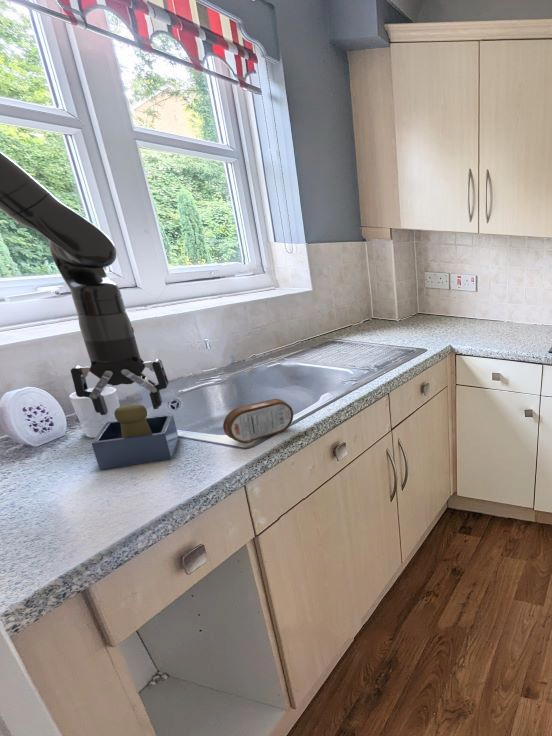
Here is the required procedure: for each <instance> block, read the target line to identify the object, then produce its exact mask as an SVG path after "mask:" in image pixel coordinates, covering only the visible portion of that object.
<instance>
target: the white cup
mask: <svg viewBox="0 0 552 736" xmlns="http://www.w3.org/2000/svg"><path fill="white" fill-rule="evenodd" d="M94 388H95V387H90V388H89V387H88V389H91V390H93V389H94ZM101 395H103V397H104V400H105V403H106V406H107V410H108V413H107V414H106V415H100V413H97V412H96V411H95V408H94V405H93V402H92V400H91V398H89V397H78V396H77V395H76V391H75V392H72V393H70V394H69V396H68V397H69V399H70V401H71V404H72V407H73V409H74V412H75V414H76V416H77V418H78V421H79V423H80V426H82V429H83V431H84V434H85V436H86V437H87V438H90V439H91V438H92V439H93V438H94V439H95V438H96V436H97V435H98V433H99V432H100V431H101V429H102V428H103V426H104V425H105V424H106V422H112V421H117V420H116V418H115V415H114V413H115V410H116V409H117V408H118V407H120V406H121V405H120V404H121V403H120V399H119V395H118V391H117V388H115V387H113V386H112V387H111V386H106V387H105V388H104V389H103V391H102V392H101Z"/></svg>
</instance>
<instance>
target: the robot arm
mask: <svg viewBox="0 0 552 736" xmlns="http://www.w3.org/2000/svg"><path fill="white" fill-rule="evenodd" d="M0 211H2V212H3V213H4V214H5V215H7V216H8V217H10V218H11V219H13V221H15V222H17V223H18V224H20V225H22V226H24V227H26V228H29V229H32V230H34V231H36V232H38V233H39V234H41V235H42V236H44V237H45V238H46V239H47V240H48V247H49V252H50V256H51V258H52V260H53V262H54V264H55V266H56V268H57V270H58V272H59V273H60V275H61V277H62V279H63V280H64V283H66V286H67V287H68V289H69V290H70V294H71V297H72V301H73V305H74V307H75V311H76V313H77V317H78V325H79V326H78V327H79V329H80V332H81V336H82V339H83V342H84V345H85V348H86V352H87V354H88V358H89V361H90V365H86V366H85V365H80V364H76V365H75V366H74V367H72V368H71V369H70V375H71V379H72V383H73V387H74V391H75V392H76V395H77V396H78V397H89V398H91V400H92V402H93V405H94V408H95V411H96V412H97V413H100V415H106V414H107V413H108V410H107V406H106V403H105V400H104V397H103V395H101V392H102V391H103V389H104V388H105V387H107V386H108V385H109V386H112V387H113V386H115V387H116V386H120V385H133V384H134V383H135V384H137V385H139V387H143V388H144V389H146V390H148V391H149V398H150V402H151V406H152V409H153V410H158V409H159V408H160V407H161V406H162V403H163V399H162V395H161V393H160V391H161V390H166V389H167V388H168V386H169V379H168V376H167V374H166V370H165V368H164V364H163V361H162V360H161V359H160V358H155V359H154V360H148V361H144V360H143V359H142V357H141V354H140V352H139V348H138V344H137V340H136V337H135V329H134V327H133V326H132V323H131V319H130V318H129V315H128V313H127V310H126V307H125V306H126V305H125V302H124V299H123V296H122V293H121V289H120V288H119V286H118V285H117V284H116V283H115V282H114V281H112V280H110V279H109V277H108V276H107V273H106V271H105V268H107V267H110V266H111V265H112V264H114V263H115V261H116V259H117V255H118V254H117V248H116V246H115V244H114V242H113V241H112V240H111V239H110V237H109V236H108V235H107V234H105V232H104V231H102V230H101V229H100V228H99V227H98V226H96V224H94V223H92V222H91V221H89V220H87V219H86V218H85V217H83V215H80V214H79V213H77V212H76V211H75V210H73V209H72V208H70V207H68V206H67V205H65V204H64V203H62V202H61V201H60V200H58V198H56V197H55V196H54V195H53V194H52V193H51V192H50V190H48V189H47V188H45V187H44V186H43V185H42V184H40V182H39V181H37V180H36V179H35V178H34V177H33V176H32V175H30V174H29V173H28V172H27V171H26V170H24V169H23V168H22V167H21V166H20V165H18V163H16V162H15V161H13V160H12V159H11V158H9V157H8V156H7V155H5V154H4V153H3V152H1V151H0ZM147 368H148V369H149V371H151V372H154V374H155V377H156V380H157V383H156V382H155V381H153V380H152V379H151V378H150V377H149V376H148V375H147V374H145V373H143V372H144V370H145V369H147ZM90 373H91V374H93V376H95V377H97V378H98V379H99V380H98V381H97V383H96V385H95V386H94V387H93V388H94V389H93V390H91V389H89V387H88V383H87V379H86V378H87V377H88V376H89V374H90Z"/></svg>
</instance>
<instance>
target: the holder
mask: <svg viewBox="0 0 552 736" xmlns="http://www.w3.org/2000/svg"><path fill="white" fill-rule="evenodd" d="M145 419H146V421H147V423H148V425H149V427H150V429H151V432H152V434H147V435H140V436H132V437H125V438H122V432H121V423H120V422H118V421H112V422H106V424H105V425H104V426H103V428H102V429H101V431H100V432H99V433H98V435H97V436H96V438H94V439H93V440H92V442H91V443H90V444H91V447H92V451H93V455H94V457H95V460H96V463H97V466H98V470H99V471H103V470H108V469H109V470H110V469H117V468H121V467H128V466H134V465H140V464H147V463H153V462H159V461H166V460H172V458H173V455H174V452H175V449H176V447H177V443H178V440H179V434H178V429H177V425H176V421H175V418H174V414H172V413H171V414H170V413H169V414H162V415H154V416H146V418H145Z"/></svg>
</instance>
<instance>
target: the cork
mask: <svg viewBox="0 0 552 736" xmlns="http://www.w3.org/2000/svg"><path fill="white" fill-rule="evenodd" d="M114 415H115V418H116V420H117V421H118V422H120V423H121V432H122V438H125V437H132V436H140V435H147V434H152V432H151V429H150V427H149V425H148V423H147V421H146V419H145V418H146V417H148V410H147V408H146V407H145V405H143V404H140V403H129V404H123V405H120V407H118V408H117V409H116V410H115V413H114Z"/></svg>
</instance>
